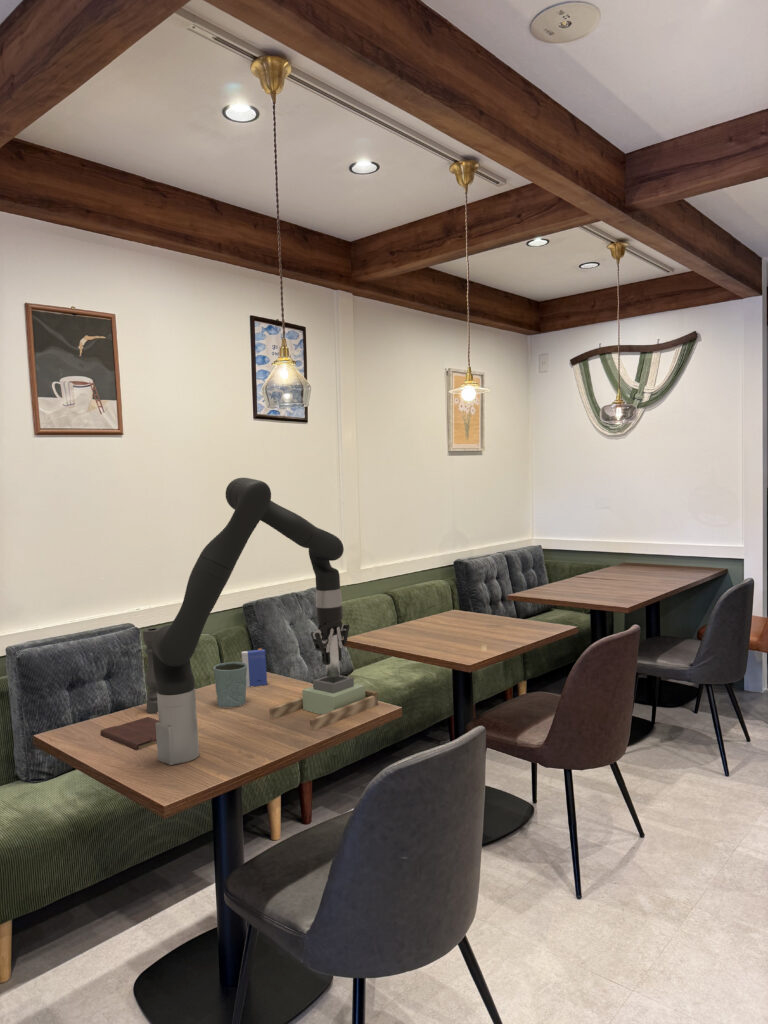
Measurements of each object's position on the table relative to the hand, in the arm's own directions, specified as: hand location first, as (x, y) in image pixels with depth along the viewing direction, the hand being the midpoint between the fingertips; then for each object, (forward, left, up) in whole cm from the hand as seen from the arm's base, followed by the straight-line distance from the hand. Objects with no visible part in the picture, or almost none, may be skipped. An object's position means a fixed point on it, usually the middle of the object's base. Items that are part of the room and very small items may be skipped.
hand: (332, 662), depth 213 cm
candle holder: (-29, +48, -15) cm, 58 cm away
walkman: (+5, +43, -15) cm, 46 cm away
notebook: (-43, +32, -15) cm, 56 cm away
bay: (-4, 0, -15) cm, 15 cm away
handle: (0, 0, -4) cm, 4 cm away
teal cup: (-12, +33, -15) cm, 38 cm away
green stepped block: (0, 0, -13) cm, 13 cm away
